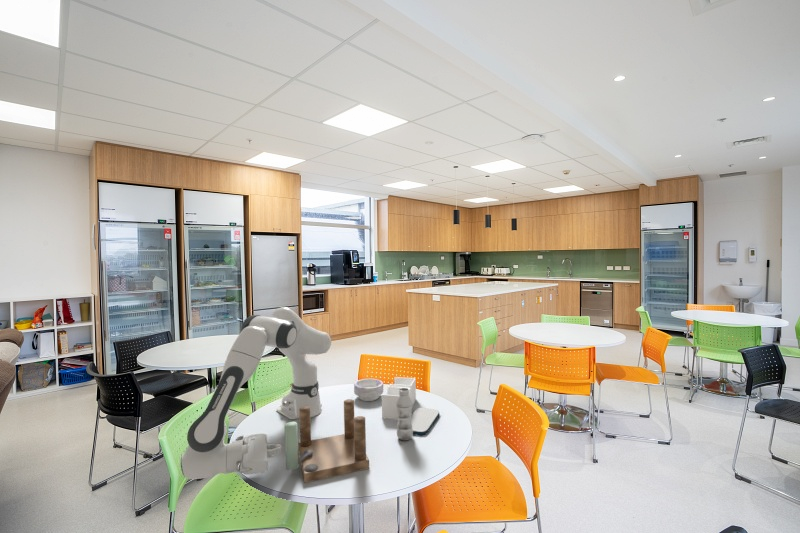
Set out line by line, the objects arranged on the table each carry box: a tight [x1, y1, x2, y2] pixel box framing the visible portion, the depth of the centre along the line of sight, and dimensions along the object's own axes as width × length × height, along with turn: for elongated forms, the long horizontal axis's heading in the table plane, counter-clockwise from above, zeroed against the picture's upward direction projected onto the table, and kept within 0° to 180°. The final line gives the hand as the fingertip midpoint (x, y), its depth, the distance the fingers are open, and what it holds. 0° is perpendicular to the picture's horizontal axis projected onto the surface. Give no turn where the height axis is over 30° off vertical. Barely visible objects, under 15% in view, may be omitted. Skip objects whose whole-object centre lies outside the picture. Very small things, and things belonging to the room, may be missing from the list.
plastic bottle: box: [396, 388, 414, 441], centre depth 152 cm, size 6×7×20 cm
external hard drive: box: [411, 407, 440, 436], centre depth 166 cm, size 24×12×2 cm, turn 158°
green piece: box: [284, 421, 313, 471], centre depth 130 cm, size 12×4×14 cm, turn 155°
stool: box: [298, 398, 370, 483], centre depth 137 cm, size 22×22×17 cm
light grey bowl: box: [353, 378, 384, 402], centre depth 196 cm, size 15×15×8 cm
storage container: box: [381, 376, 417, 420], centre depth 182 cm, size 25×11×11 cm, turn 167°
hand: (281, 448), depth 128 cm, fingers closed
